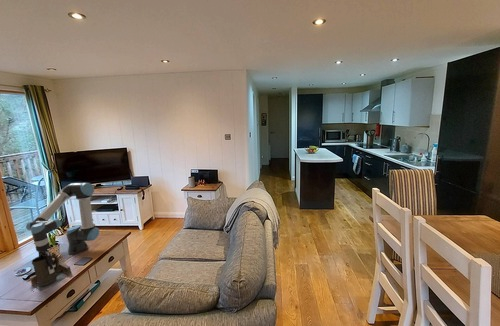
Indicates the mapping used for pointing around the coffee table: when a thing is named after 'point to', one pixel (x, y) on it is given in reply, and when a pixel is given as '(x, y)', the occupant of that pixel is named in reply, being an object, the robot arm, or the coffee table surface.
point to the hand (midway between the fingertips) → (48, 271)
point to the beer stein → (44, 270)
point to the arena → (62, 268)
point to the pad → (59, 277)
